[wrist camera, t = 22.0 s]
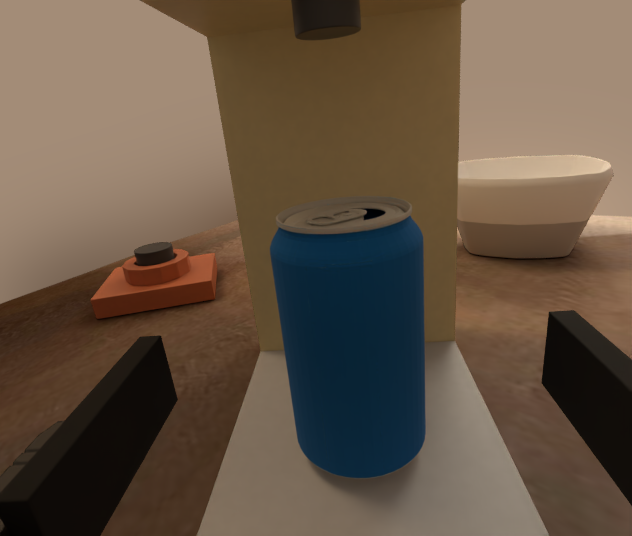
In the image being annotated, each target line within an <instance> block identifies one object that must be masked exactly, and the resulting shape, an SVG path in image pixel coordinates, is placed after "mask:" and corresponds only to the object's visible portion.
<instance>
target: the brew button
mask: <svg viewBox="0 0 632 536" xmlns="http://www.w3.org/2000/svg"><path fill="white" fill-rule="evenodd" d="M134 253H135V257H136V261H137V265H138V266H151V265H157V264H161V263H165V262H168V261H170V260H172V259H174V258H175V256H174V252H173V248H172V244H171V243H168V242H159V243H153V244H148V245H144V246H142V247H139V248H137V249H135V251H134Z"/></svg>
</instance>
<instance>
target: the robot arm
mask: <svg viewBox="0 0 632 536" xmlns="http://www.w3.org/2000/svg"><path fill="white" fill-rule="evenodd" d="M542 384H543V386H544V387H545V388H546V390H547V391H548V392H549V394H550V395H551V396H552V398H553V399H554V401H555V402H556V403H557V405H558V406H559V407H560V409H561V410H562V411H563V413H564V414H565V415H566V417H567V418H568V420H569V421H570V422H571V424H572V425H573V426H574V428H575V429H576V430H577V432H578V433H579V435H580V436H581V437H582V439H583V440H584V441H585V443H586V444H587V445H588V447H589V448H590V449H591V451H592V452H593V454H594V455H595V456H596V458H597V459H598V460H599V462H600V463H601V464H602V466H603V467H604V469H605V470H606V471H607V473H608V474H609V475H610V477H611V478H612V479H613V481H614V482H615V484H616V485H617V486H618V488H619V489H620V490H621V492H622V493H623V494H624V496H625V497H626V498H627V500H628V501H629V503H630V504H631V505H632V360H631V359H630V358H629V357H628V356H627V355H625V354H624V353H623V352H622V351H621V350H620V349H618V348H617V347H616V346H615V345H614V344H613V343H611V342H610V341H609V340H608V339H607V338H606V337H604V336H603V335H602V334H601V333H600V332H599V331H597V330H596V329H595V328H594V327H593V326H592V325H590V324H589V323H588V322H587V321H586V320H585V319H583V318H582V317H581V316H580V315H579V314H578V313H576V312H575V311H574V310H571V311H555V312H549V318H548V327H547V337H546V346H545V356H544V365H543V375H542ZM177 400H178V399H177V395H176V392H175V388H174V384H173V380H172V376H171V373H170V369H169V365H168V361H167V357H166V354H165V350H164V346H163V342H162V338H161V336H146V337H140V338H139V339H138V340H137V341H136V342H135V343H134V344H133V345H132V346H131V348H130V349H129V350H128V351H127V352H126V353H125V354H124V355H123V356H122V358H121V359H120V360H119V361H118V362H117V363H116V364H115V365H114V366H113V368H112V369H111V370H110V371H109V372H108V373H107V374H106V375H105V377H104V378H103V379H102V380H101V381H100V382H99V383H98V384H97V385H96V387H95V388H94V389H93V390H92V391H91V392H90V393H89V394H88V395H87V397H86V398H85V399H84V400H83V401H82V402H81V403H80V404H79V405H78V407H77V408H76V409H75V410H74V411H73V412H72V413H71V414H70V416H69V417H68V418H67V419H66V420H65V421H58V422H57V423H55V424H54V425H52V426H51V427H49V428H48V429H47V430H45V431H44V432H42V433H41V434H40V435H38V436H37V438H36V439H35V440H34V441H33V442H32V443H31V444H30V445H29V446H28V447H27V448H26V449H25V452H24V453H22V454H21V455H20V456H19V457H18V458H17V459H16V460H15V461H14V462H13V465H12V466H9V467H8V468H7V470H6V471H5V472H4V473H3V474H2V475H1V476H0V536H100V535H101V533H102V532H103V530H104V528H105V526H106V525H107V523H108V521H109V519H110V518H111V516H112V514H113V512H114V511H115V509H116V507H117V505H118V504H119V502H120V500H121V498H122V497H123V495H124V493H125V491H126V490H127V488H128V486H129V484H130V483H131V481H132V479H133V477H134V476H135V474H136V472H137V470H138V469H139V467H140V465H141V463H142V462H143V460H144V458H145V456H146V455H147V453H148V451H149V449H150V447H151V446H152V444H153V442H154V440H155V439H156V437H157V435H158V433H159V432H160V430H161V428H162V426H163V425H164V423H165V421H166V419H167V418H168V416H169V414H170V412H171V411H172V409H173V407H174V405H175V404H176V402H177Z"/></svg>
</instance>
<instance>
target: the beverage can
mask: <svg viewBox="0 0 632 536" xmlns="http://www.w3.org/2000/svg"><path fill="white" fill-rule="evenodd" d="M411 213H412V205H411V204H410V203H409V202H407V201H405V200H402V199H398V198H393V197H384V196H352V197H339V198H331V199H324V200H318V201H313V202H308V203H304V204H300V205H296V206H293V207H291V208H288V209H286V210H284V211H282V212H280V213H279V214H278V215H277V216H276V224H277V226H278V227H279V228H278V230H277V232H276V234H275V236H274V237H273V239H272V242H271V245H270V256H271V263H272V269H273V276H274V283H275V290H276V297H277V303H278V310H279V317H280V324H281V331H282V338H283V344H284V351H285V358H286V365H287V372H288V378H289V385H290V392H291V399H292V406H293V412H294V419H295V426H296V433H297V439H298V443H299V446H300V448H301V450H302V451H303V453H304V455H305V456H306V457H307V458H308V459H309V460H310V461H311V462H312V463H313V464H314V465H316V466H317V467H319V468H320V469H322V470H324V471H326V472H328V473H331V474H334V475H337V476H341V477H345V478H354V479H368V478H376V477H380V476H385V475H388V474H390V473H393V472H395V471H397V470H399V469H401V468H403V467H404V466H406V465H407V464H409V463H410V462H411V461H412V460H413V459H414V458H415V457H416V456H417V454H418V453H419V452H420V450H421V448H422V446H423V443H424V440H425V435H426V419H425V332H424V245H423V234H422V232H421V230H420V228H419V226H418V225H417V224H416V223H415V221H414V220H413V219H412V218H411V216H410V215H411Z"/></svg>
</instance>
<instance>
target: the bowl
mask: <svg viewBox="0 0 632 536" xmlns="http://www.w3.org/2000/svg"><path fill="white" fill-rule="evenodd" d="M612 177H613V170H612V167H611V165H610V163H609V162H607V161H604V160H601V159H598V158H594V157H588V156H581V155H548V156H547V155H546V156H521V157H505V158H490V159H479V160H469V161H461V162H458V205H457V227H458V230H459V232H460V235H461V238H462V241H463V244H464V247H465V248H466V249H467V250H468V251H469V252H470V253H472V254H475V255H483V256H491V257H503V258H517V259H519V258H553V257H564V256H567V255H568V254H570V252H571V251H572V249H573V247H574V246H575V244H576V242H577V240H578V238H579V237H580V235H581V233H582V231H583V229H584V227H585V226H586V224H587V222H588V220H589V218H590V216H591V215H592V214H593V212H594V210H595V208H596V206H597V204H598V202H599V201H600V199H601V197H602V195H603V194H604V192H605V190H606V188H607V186H608V184H609V183H610V181H611V179H612Z"/></svg>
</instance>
